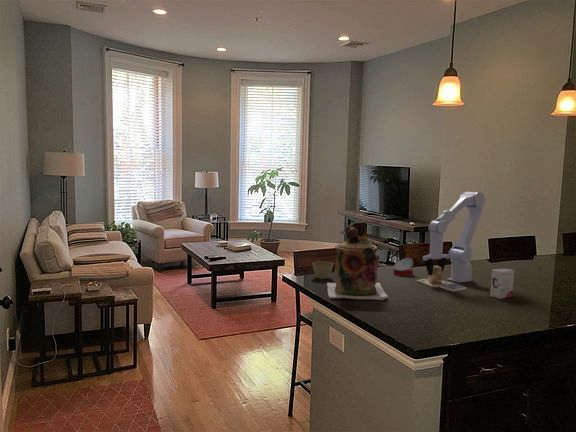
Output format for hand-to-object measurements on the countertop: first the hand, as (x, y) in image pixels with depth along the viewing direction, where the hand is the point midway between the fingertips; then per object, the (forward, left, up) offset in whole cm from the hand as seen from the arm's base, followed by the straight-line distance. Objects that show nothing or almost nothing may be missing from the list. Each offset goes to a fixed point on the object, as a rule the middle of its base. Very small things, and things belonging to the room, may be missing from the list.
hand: (435, 274), depth 236 cm
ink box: (-9, +30, -4) cm, 32 cm away
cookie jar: (+46, +1, -4) cm, 46 cm away
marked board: (0, 0, -4) cm, 4 cm away
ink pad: (0, +11, -4) cm, 12 cm away
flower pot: (+44, -30, -4) cm, 53 cm away
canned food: (+1, -22, -5) cm, 22 cm away
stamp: (0, 0, -3) cm, 3 cm away
